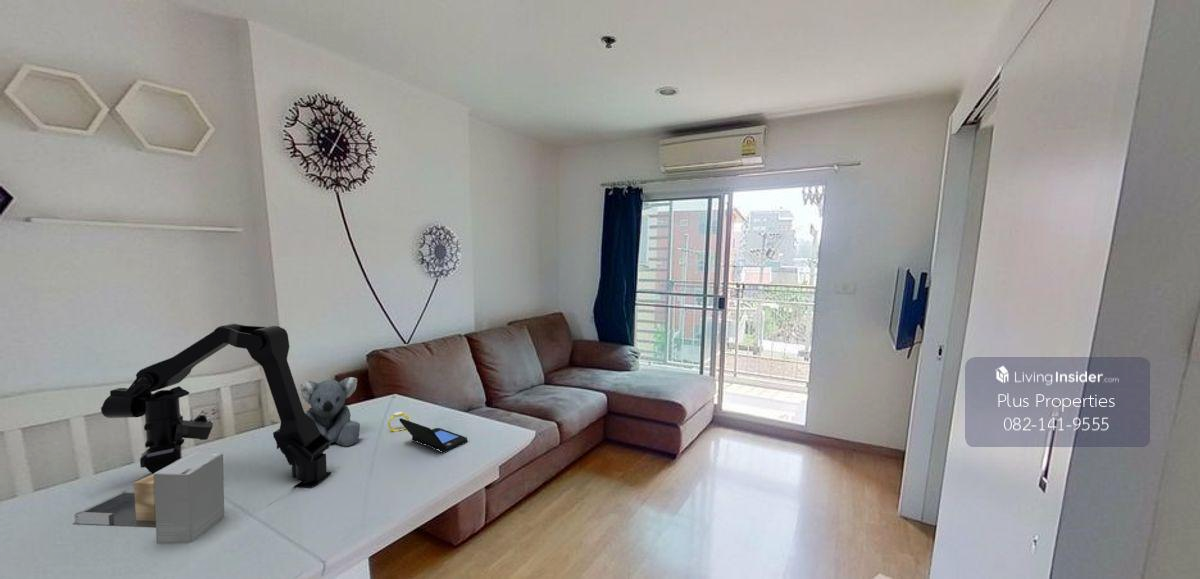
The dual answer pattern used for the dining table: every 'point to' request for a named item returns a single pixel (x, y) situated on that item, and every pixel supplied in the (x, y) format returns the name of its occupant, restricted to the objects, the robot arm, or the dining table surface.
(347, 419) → the koala plush
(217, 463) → the skincare box
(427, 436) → the game console
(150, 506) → the block
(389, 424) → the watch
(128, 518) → the rail
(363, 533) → the dining table surface
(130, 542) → the dining table surface
